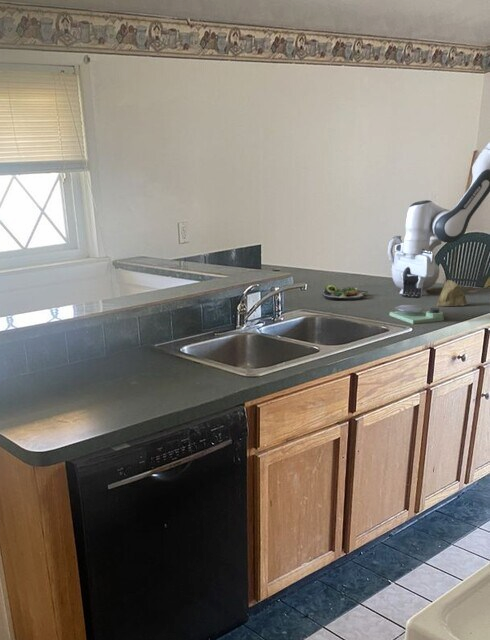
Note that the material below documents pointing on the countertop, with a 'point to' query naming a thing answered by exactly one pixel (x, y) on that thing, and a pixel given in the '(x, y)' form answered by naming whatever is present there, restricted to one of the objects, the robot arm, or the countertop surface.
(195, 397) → the countertop surface
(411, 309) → the scale pan
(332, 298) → the salad plate
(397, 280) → the ceramic pitcher
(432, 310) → the tare button
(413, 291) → the battery charger
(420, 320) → the scale
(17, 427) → the countertop surface
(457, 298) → the rock
